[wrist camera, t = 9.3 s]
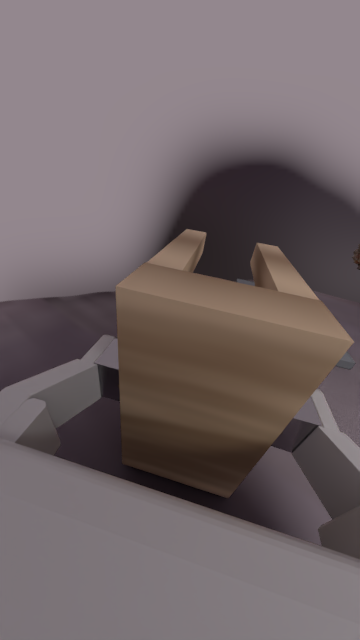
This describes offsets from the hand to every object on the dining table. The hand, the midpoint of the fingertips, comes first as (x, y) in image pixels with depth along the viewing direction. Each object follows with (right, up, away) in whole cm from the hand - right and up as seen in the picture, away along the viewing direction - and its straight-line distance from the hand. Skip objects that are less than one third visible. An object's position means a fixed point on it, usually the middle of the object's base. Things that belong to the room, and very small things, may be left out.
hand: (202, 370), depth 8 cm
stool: (0, -4, +6) cm, 7 cm away
